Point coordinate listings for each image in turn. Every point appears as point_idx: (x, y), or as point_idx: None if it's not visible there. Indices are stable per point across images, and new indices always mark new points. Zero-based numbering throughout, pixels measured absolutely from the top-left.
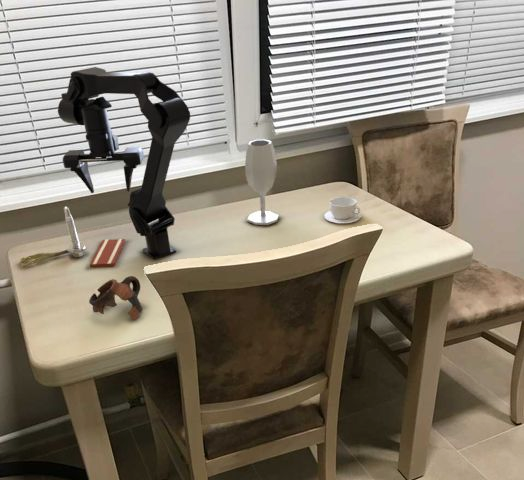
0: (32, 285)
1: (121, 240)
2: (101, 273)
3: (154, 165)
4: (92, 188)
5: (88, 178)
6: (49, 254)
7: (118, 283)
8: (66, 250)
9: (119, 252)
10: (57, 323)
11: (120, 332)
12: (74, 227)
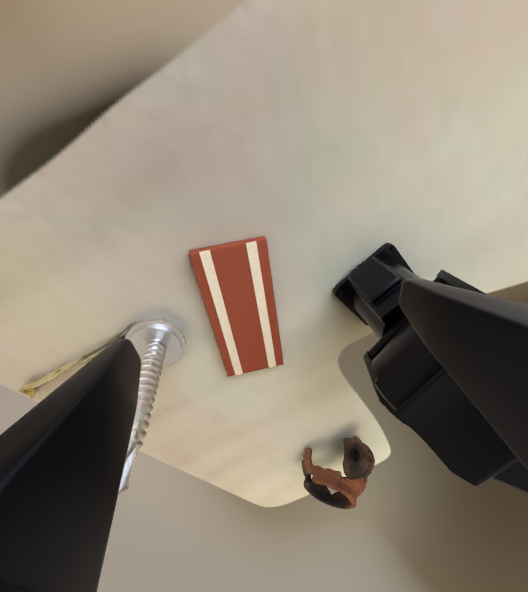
0: (147, 435)
1: (258, 251)
2: (264, 383)
3: None
4: (127, 379)
5: (82, 501)
6: (83, 361)
7: (355, 494)
8: (118, 338)
9: (276, 314)
10: (256, 476)
11: (339, 468)
12: (151, 398)
